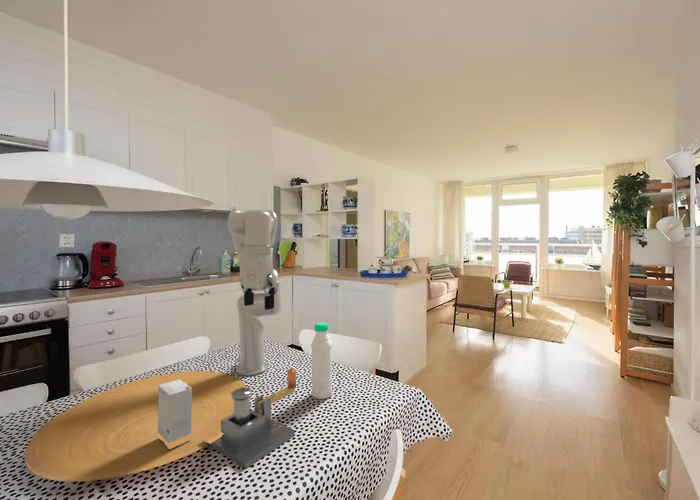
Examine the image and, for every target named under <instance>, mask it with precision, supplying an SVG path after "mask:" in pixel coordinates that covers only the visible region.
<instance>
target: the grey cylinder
mask: <svg viewBox="0 0 700 500" xmlns="http://www.w3.org/2000/svg"><path fill="white" fill-rule="evenodd" d="M252 392H253V391H252V388H250V387H239V388H236V389H233V391H232V392H231V398H232V400H233V414H234V424H236V425H238V426H240V427H241V426H243V425H245V424H246V423H248V422H250V409H251V400H250V399H251V397H252Z"/></svg>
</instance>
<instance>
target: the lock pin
mask: <svg viewBox="0 0 700 500" xmlns="http://www.w3.org/2000/svg"><path fill="white" fill-rule="evenodd" d="M286 377H287V380H286V381H287V387H285V388H282V389H281V390H279V391H277V392H274V393H273V394H271V395H269V396H267V397H265V398H263V400H261V401H259V402H257V408H258V409H260V410H261V409H262V402H263V401H265V400H267V399H271V405H272V404H274V403H277V402H278V401H280V400H281V399H283V398H286V397H288V396H289V395H291V394H292V393H295V388H296V387H297V369H296V368H289V369H288V370H287V376H286Z"/></svg>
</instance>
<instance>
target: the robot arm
mask: <svg viewBox="0 0 700 500" xmlns="http://www.w3.org/2000/svg"><path fill="white" fill-rule="evenodd" d="M227 228H228V232H229V233H230V235H232V244H233V247H234V249H235V253H236V256H237V257H238V260H239V281H240V287H241V290H242V293H243V295H241V296H240V297H238V299H237V300H236V301H237V302H236V308H237V313H238V321H239V352H240V353H239V357H237V358H236V361H237V362H238V363H239V365H237V367H236V373H237V374H238V375H240V376H255V375H256V376H257V375H260V374H263V373H265V372H266V371H268V369H269V364H268V363H267V362H265V330H264V324H263V323H262V321H260V320H259V319H258V318H260V317H269V316H276V315H279V313H280V312H281V309H282V301H281V290H280V289H281V288H280V287H281V285H280V277H279V273H278V271H277V270H276V269H274V264H273V258H272V250H271V249H272V248H271V247H273V246H274V245H275V243H276V236H277V229H278V216H277V214H276V212H275V211H273V210H272V209H271V210H270V209H247V210H240V211H239V210H238V211H237V210H236V211H230V213H229V214H228V218H227ZM254 292H257V293H254ZM258 292H260V293H258ZM261 292H262V293H261Z"/></svg>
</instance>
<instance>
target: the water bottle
mask: <svg viewBox="0 0 700 500" xmlns="http://www.w3.org/2000/svg"><path fill="white" fill-rule="evenodd" d="M328 331H329V324H328V323H327V322H316V323H314V332H315V335H314V336H313V339H312V341H311V344H310V345H311V347H310V348H311V373H312V374H311V395H312V397H313V398H314V399H317V400H325V399H328V398H330V397H331V396H332V395H333V386H332V383H333V376H332V369H333V366H332V365H333V358H332V355H333V354H332V352H333V351H332V347H333V346H332V345H333V344H332V340H331V339H330V336H329V335H328Z"/></svg>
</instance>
